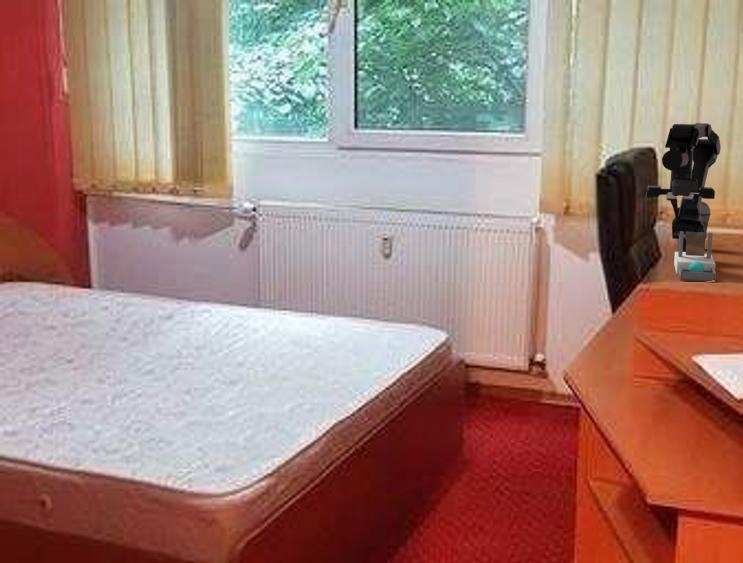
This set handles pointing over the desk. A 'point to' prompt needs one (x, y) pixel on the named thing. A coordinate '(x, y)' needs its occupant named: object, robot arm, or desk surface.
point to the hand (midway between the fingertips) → (677, 221)
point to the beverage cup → (704, 214)
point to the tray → (697, 275)
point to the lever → (695, 243)
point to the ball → (696, 267)
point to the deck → (686, 260)
